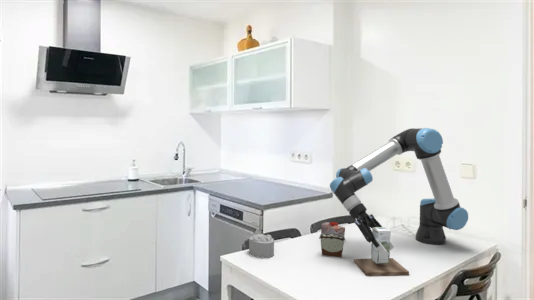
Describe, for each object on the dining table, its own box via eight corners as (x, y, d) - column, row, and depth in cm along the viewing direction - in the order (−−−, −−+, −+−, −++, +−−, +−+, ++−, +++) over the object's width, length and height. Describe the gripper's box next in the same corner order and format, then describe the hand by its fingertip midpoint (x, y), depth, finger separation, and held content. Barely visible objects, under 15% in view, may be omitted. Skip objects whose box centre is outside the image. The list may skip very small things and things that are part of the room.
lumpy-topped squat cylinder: (264, 248, 181) (264, 231, 181) (279, 255, 170) (279, 237, 170) (246, 251, 175) (246, 234, 175) (260, 260, 164) (260, 241, 164)
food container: (346, 254, 173) (347, 233, 173) (345, 258, 168) (345, 237, 167) (321, 251, 177) (321, 231, 177) (318, 255, 172) (319, 234, 171)
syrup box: (383, 258, 159) (384, 226, 159) (389, 263, 154) (390, 230, 153) (370, 259, 158) (371, 226, 158) (377, 264, 153) (378, 230, 152)
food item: (347, 242, 193) (347, 223, 193) (336, 244, 189) (336, 225, 188) (329, 235, 204) (329, 218, 204) (318, 238, 200) (318, 220, 199)
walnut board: (392, 261, 165) (392, 258, 165) (408, 275, 149) (409, 271, 149) (353, 262, 163) (353, 258, 163) (366, 276, 147) (366, 272, 147)
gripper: (360, 208, 173) (392, 249, 163) (337, 215, 158) (371, 261, 148) (370, 199, 169) (404, 240, 159) (349, 205, 154) (384, 251, 144)
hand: (388, 250), depth 153 cm, fingers closed on syrup box, 8 cm apart
